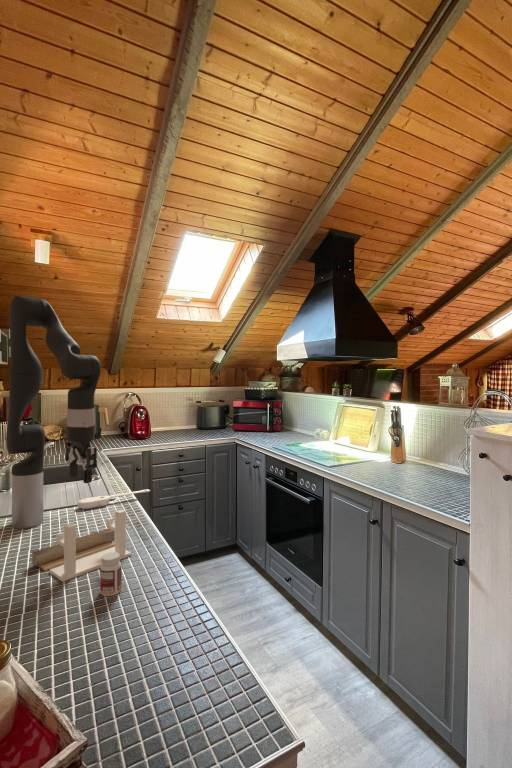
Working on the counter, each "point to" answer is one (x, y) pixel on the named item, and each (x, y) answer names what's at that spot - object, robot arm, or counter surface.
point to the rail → (81, 545)
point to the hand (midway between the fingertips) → (80, 479)
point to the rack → (92, 561)
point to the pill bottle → (110, 574)
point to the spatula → (102, 500)
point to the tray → (78, 555)
